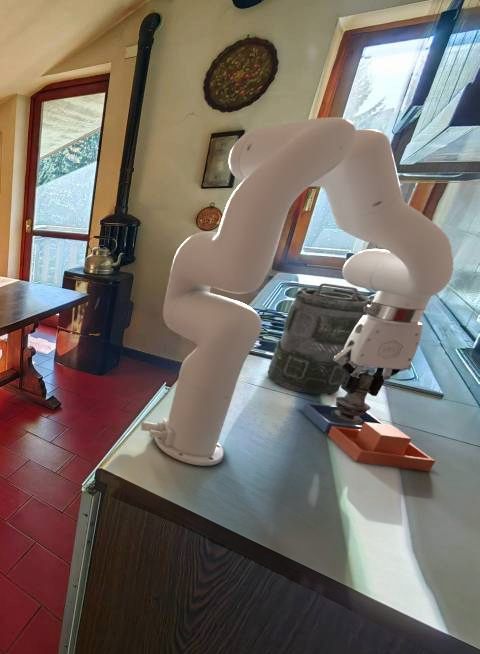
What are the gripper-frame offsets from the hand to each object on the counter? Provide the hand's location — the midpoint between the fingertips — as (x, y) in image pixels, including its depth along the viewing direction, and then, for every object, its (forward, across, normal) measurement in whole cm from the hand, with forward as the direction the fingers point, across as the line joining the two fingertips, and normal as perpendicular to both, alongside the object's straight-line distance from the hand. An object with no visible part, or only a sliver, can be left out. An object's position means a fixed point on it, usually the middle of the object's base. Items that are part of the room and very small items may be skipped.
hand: (358, 391), depth 86 cm
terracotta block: (+8, 0, -10) cm, 13 cm away
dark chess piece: (+7, 0, 0) cm, 7 cm away
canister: (+9, +2, +22) cm, 24 cm away
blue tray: (+9, 0, 0) cm, 9 cm away
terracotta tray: (+9, 0, -10) cm, 14 cm away
